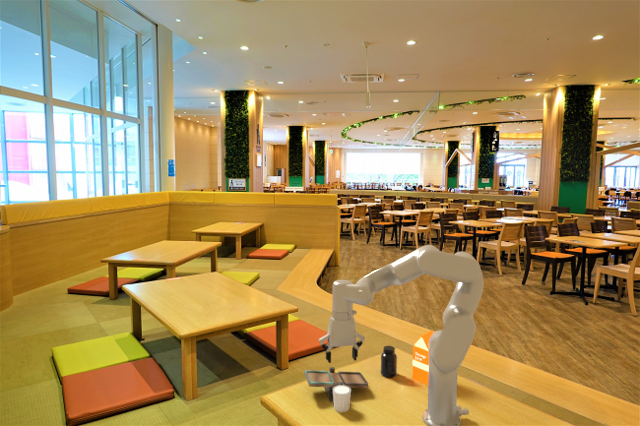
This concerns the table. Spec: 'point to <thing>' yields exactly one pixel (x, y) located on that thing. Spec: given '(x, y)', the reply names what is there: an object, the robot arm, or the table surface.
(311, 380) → the balance beam board
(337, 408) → the cup of milk
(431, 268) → the robot arm
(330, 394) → the pivot stand
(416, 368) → the orange juice
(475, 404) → the table surface
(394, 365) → the supplement bottle
